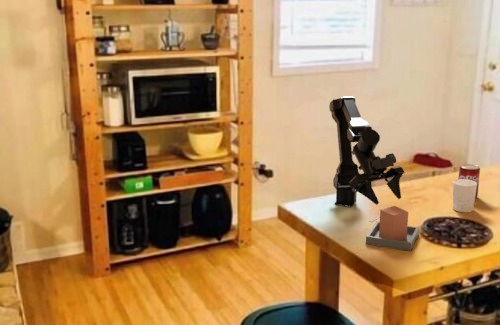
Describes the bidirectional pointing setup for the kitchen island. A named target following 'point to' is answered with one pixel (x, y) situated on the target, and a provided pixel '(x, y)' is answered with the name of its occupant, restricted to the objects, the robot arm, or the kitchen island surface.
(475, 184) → the white cup
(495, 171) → the kitchen island surface
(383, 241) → the charcoal tray
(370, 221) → the butter knife
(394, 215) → the terracotta block
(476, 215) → the kitchen island surface
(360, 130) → the robot arm
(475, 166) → the soda can
